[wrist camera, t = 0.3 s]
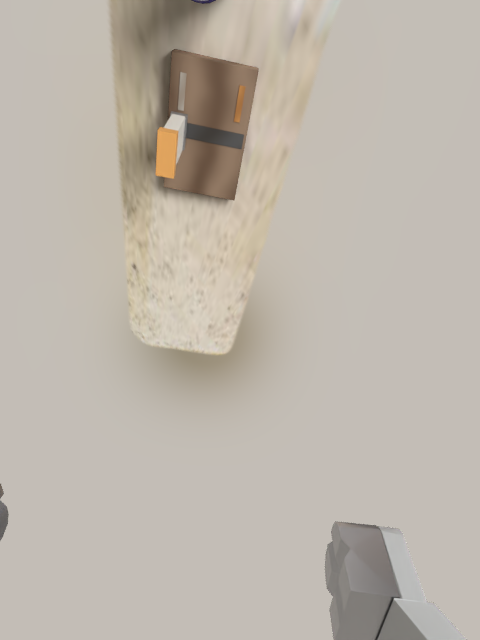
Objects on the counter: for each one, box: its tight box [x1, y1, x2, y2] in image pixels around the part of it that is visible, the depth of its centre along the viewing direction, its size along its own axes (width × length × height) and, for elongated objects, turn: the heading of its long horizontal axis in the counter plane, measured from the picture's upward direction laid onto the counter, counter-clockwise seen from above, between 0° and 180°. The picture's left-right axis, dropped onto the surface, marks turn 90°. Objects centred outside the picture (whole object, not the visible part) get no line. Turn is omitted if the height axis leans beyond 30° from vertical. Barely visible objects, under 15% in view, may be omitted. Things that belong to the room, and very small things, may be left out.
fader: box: [156, 111, 188, 179], centre depth 46 cm, size 2×5×9 cm, turn 169°
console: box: [164, 49, 258, 200], centre depth 51 cm, size 10×16×2 cm, turn 169°
